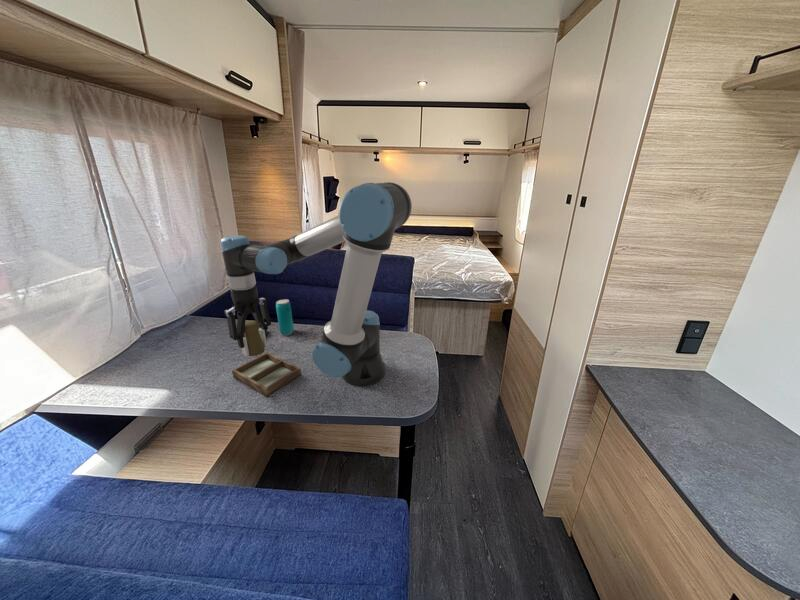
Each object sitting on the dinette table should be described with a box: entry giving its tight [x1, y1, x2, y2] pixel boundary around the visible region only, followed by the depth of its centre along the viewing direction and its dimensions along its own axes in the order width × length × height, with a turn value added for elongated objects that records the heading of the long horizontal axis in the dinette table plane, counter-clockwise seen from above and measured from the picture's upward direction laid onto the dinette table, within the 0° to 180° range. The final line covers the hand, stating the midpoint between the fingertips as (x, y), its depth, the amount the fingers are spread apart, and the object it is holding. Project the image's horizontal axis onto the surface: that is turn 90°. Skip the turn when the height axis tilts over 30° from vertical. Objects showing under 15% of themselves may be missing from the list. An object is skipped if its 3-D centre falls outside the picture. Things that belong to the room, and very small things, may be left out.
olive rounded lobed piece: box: [244, 320, 266, 357], centre depth 104 cm, size 6×6×11 cm
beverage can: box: [275, 298, 294, 337], centre depth 133 cm, size 6×6×15 cm
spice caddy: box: [231, 351, 302, 398], centre depth 107 cm, size 18×14×3 cm
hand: (255, 350), depth 106 cm, fingers closed on olive rounded lobed piece, 6 cm apart
